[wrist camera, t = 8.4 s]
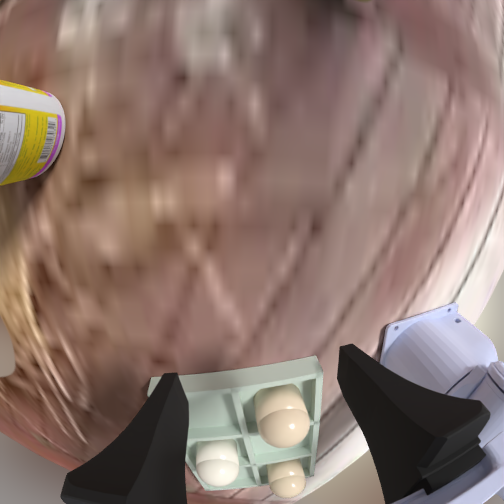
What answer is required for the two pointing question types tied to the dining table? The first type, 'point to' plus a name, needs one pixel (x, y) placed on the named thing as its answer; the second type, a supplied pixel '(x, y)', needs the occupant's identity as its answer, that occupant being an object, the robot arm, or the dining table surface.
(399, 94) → the dining table surface
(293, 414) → the tan egg
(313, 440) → the egg tray
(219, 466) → the cream egg
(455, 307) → the robot arm
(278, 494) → the tan egg
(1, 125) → the supplement bottle
